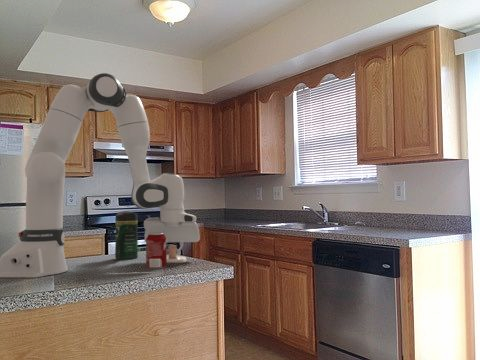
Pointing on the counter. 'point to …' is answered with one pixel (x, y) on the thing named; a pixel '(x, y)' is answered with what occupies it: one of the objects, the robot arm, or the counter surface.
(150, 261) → the soda can
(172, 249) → the lid
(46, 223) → the robot arm
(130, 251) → the coffee jar
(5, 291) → the counter surface
